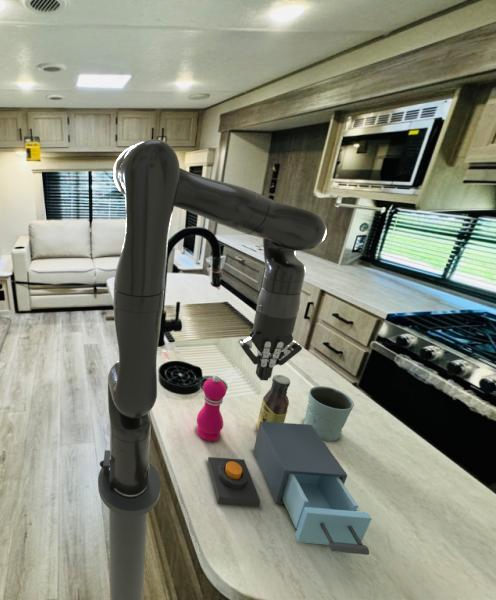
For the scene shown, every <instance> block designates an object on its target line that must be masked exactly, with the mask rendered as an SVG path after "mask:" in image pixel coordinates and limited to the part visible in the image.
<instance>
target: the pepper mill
mask: <svg viewBox="0 0 496 600" xmlns="http://www.w3.org/2000/svg"><path fill="white" fill-rule="evenodd" d="M202 391H203V401H204V404H203V407H202V408H201V409H200V410H199V411H198V413H197V417H196V424H197V426H196V428H197V429H196V432H197V435H198V436H199V437H200V438H201V439H203V440H204V441H207V442H216V441H218V440H219V438H220V437H221V431H222V430H223V427H224V418H223V416H222V413H221V410H220V408H221V405H222V404H223V402H224V401H223V400H224V398H225V396H226V395H227V386H226V385H225V383H224V382H223V381H222V380H221V379H220V377H219V376H218V375H214V376H213V377H212V378H209V379H206V380H205V381H204V383H203V385H202Z"/></svg>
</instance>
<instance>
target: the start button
mask: <svg viewBox="0 0 496 600" xmlns="http://www.w3.org/2000/svg"><path fill="white" fill-rule="evenodd" d="M225 472H226V474H227V476H228V477H230V478H232V479H235V480H237V479H240V478H241V475H242V467H241V466H240V465H239V464H238V463H236V462H233V461H230V462H228V463H227V464H226V468H225Z"/></svg>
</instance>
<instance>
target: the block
mask: <svg viewBox="0 0 496 600" xmlns="http://www.w3.org/2000/svg"><path fill="white" fill-rule="evenodd" d="M230 461H233V462H236V463H238V464H239V465H240V466H241V467H242V475H241V478H240V479H237V480H235V479H232V478H230V477H228V476H227V474H226V472H225V468H226V464H227V463H228V462H230ZM206 464H207V467H208V471H209V475H210V479H211V483H212V487H213V490H214V494H215V499H216V502H217V504H219V505H231V506H241V507H242V506H243V507H253V508H259V507H260V503H261V499H260V497H259V494H258V491H257V489H256V486H255V484H254V481H253V478H252V476H251V474H250V471H249V468H248V465H247V463H246V461H245V459H243V458H242V459H240V458H230V457H229V458H228V457H214V456H208V457H207V462H206Z"/></svg>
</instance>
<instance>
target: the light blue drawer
mask: <svg viewBox="0 0 496 600" xmlns="http://www.w3.org/2000/svg"><path fill="white" fill-rule="evenodd" d="M282 500H283V502H284V504H283V505H284V506H285V508H286V510H287V513H288V514H289V518H290V519H291V522H292V523H293V525H294V528H295V529H296V531H295V535H294V537H295V539H296V541H297V542H298V543H307V544H314V545H315V544H316V545H327V546H329V549H330V551H332V552H337V553H344V554H345V553H347V554H356V555H365V556H368V555H370V549H369V547H368V546H367V545H366V544H363V542H362V541H363V539H364V537H365V535H366V532H367V530H368V527H369V525H370V524H371V521H372V519H373V518H372V517H371V515H370V514H369V512H367V511H366V512H365V511H358V508H359V504H358V503H357V501H356V500H355V499H354V496H353V495H352V494H351V492H350V491H349V490H348V488H347V487H346V485H345V483H344V484H343V482H342V481H341V479H340V478H339V477H332V476H318V475H305V474H292V473H288V476H287V479H286V483H285V486H284V490H283V493H282Z"/></svg>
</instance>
